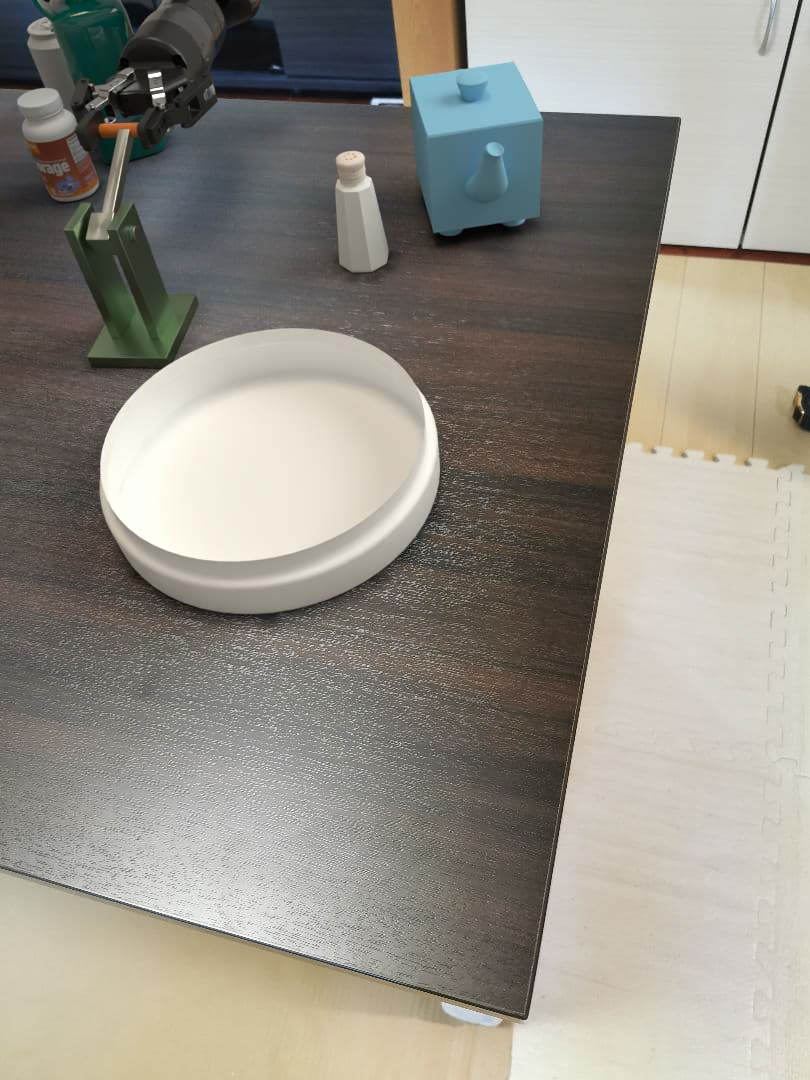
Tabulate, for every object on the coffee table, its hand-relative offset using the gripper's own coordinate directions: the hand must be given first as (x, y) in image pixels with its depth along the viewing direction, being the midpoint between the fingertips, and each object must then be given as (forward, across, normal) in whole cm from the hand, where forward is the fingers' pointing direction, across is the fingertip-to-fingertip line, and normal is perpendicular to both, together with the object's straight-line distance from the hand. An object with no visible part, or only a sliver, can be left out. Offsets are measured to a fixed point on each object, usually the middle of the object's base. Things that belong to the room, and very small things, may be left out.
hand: (114, 140), depth 75 cm
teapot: (-14, +31, +16) cm, 38 cm away
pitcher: (-31, -15, +16) cm, 38 cm away
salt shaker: (-6, +20, +16) cm, 26 cm away
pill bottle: (-20, -18, +16) cm, 32 cm away
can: (-39, -24, +16) cm, 49 cm away
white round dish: (+26, +18, +16) cm, 35 cm away
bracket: (+7, 0, +16) cm, 17 cm away
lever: (+2, 0, +4) cm, 4 cm away
